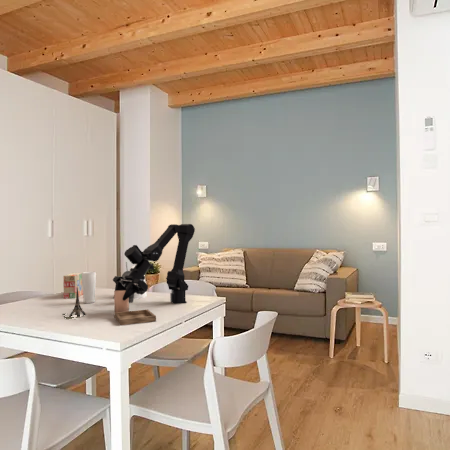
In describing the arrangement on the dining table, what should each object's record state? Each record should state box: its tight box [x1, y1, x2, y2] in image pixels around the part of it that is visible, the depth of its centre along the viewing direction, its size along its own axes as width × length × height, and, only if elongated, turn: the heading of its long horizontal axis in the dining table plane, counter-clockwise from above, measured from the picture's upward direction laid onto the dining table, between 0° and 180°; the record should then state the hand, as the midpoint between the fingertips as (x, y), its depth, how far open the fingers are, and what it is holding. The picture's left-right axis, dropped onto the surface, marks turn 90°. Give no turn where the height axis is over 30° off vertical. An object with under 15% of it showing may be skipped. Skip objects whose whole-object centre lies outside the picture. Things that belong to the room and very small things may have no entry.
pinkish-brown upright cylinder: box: [113, 290, 130, 314], centre depth 172 cm, size 6×6×10 cm
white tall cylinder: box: [81, 271, 97, 304], centre depth 199 cm, size 7×7×15 cm
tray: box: [113, 309, 157, 326], centre depth 162 cm, size 14×14×2 cm
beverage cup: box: [121, 261, 135, 304], centre depth 199 cm, size 7×7×20 cm
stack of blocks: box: [63, 272, 83, 299], centre depth 222 cm, size 21×6×12 cm, turn 179°
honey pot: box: [128, 264, 148, 300], centre depth 215 cm, size 13×13×18 cm
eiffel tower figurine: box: [61, 288, 87, 320], centre depth 169 cm, size 15×10×13 cm
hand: (118, 299), depth 171 cm, fingers closed on pinkish-brown upright cylinder, 6 cm apart
